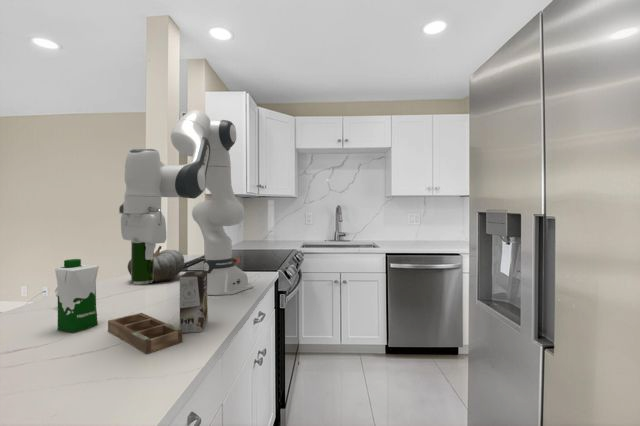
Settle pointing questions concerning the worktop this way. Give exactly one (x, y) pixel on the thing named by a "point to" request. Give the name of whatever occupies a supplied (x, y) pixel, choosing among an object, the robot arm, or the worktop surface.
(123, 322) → the wooden compartment rack
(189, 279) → the coffee box
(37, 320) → the worktop surface
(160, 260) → the gourd
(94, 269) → the milk carton
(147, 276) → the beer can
